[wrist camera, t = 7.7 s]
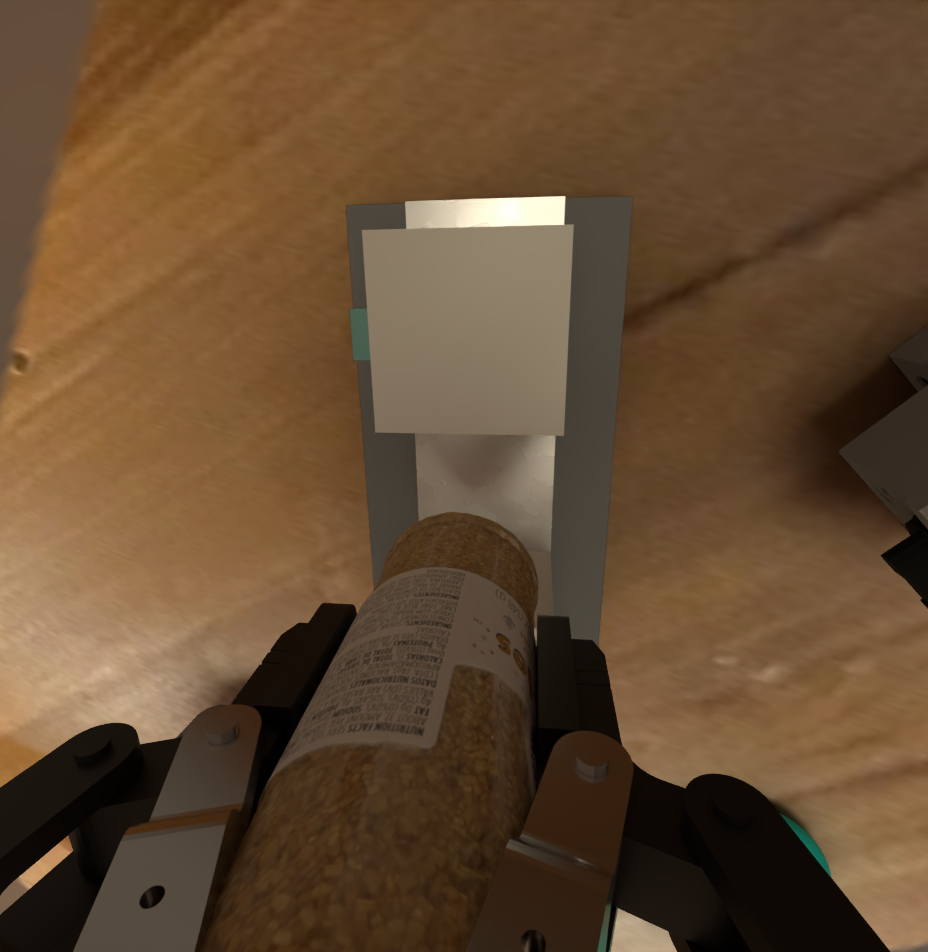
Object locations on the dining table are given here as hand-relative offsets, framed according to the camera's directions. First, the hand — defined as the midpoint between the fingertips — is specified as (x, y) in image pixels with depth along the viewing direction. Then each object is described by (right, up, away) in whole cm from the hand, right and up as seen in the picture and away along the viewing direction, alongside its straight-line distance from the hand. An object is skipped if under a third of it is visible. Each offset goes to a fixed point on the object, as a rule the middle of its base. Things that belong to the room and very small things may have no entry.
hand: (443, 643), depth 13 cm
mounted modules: (+1, +4, +11) cm, 12 cm away
